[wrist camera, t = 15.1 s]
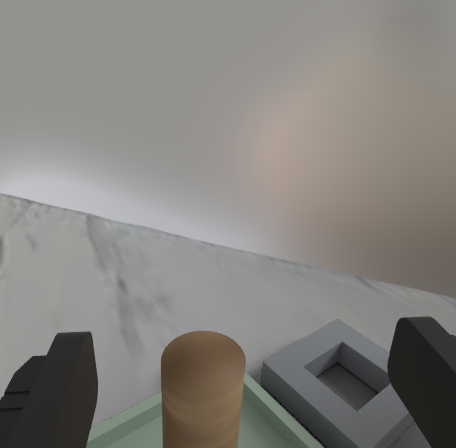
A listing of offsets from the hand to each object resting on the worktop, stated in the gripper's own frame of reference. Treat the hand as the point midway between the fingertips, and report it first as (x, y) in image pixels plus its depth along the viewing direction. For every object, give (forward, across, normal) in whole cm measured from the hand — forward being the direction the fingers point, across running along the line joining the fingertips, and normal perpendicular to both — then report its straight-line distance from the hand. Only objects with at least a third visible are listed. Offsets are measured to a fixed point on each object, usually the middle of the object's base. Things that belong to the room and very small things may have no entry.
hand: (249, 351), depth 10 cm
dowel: (+11, +1, +23) cm, 26 cm away
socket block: (+20, -14, +24) cm, 35 cm away
